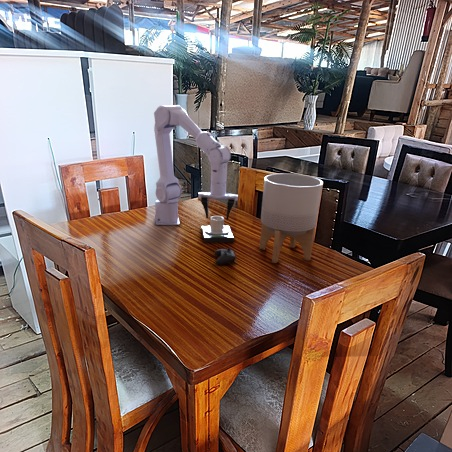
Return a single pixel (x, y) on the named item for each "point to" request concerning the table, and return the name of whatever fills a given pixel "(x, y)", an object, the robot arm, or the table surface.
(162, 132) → the robot arm
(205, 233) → the scale
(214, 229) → the small grey cup
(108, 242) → the table surface
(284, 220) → the planter
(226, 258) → the gaming controller
